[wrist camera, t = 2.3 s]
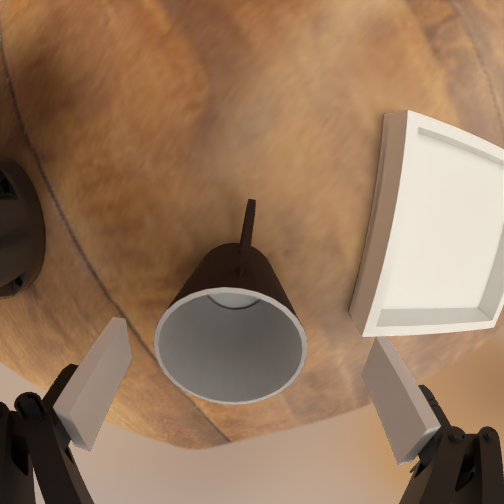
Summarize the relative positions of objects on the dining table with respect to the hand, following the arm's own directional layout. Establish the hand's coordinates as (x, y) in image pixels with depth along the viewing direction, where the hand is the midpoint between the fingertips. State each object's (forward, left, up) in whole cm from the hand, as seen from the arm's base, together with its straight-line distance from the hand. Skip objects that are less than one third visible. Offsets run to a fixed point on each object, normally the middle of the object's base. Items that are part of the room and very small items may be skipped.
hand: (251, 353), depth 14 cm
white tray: (+19, +5, -11) cm, 22 cm away
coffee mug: (0, 0, -11) cm, 11 cm away
